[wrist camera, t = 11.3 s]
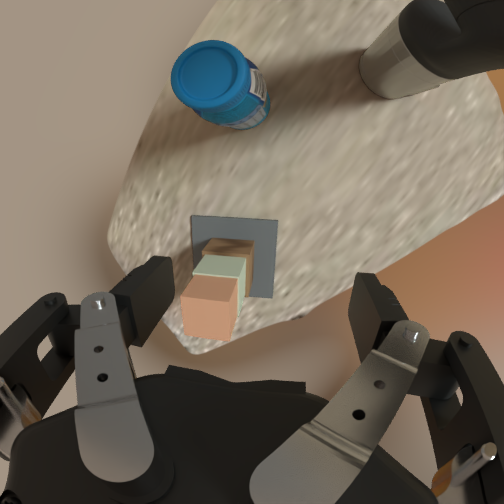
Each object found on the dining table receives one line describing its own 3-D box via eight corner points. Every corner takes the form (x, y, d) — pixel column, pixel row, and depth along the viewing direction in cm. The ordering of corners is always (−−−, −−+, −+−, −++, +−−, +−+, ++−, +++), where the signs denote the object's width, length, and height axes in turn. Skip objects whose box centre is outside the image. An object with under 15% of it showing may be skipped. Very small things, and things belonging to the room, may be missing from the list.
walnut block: (254, 240, 45) (249, 254, 39) (253, 279, 47) (248, 297, 42) (212, 237, 45) (201, 250, 40) (213, 275, 48) (203, 292, 43)
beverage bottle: (248, 141, 39) (215, 138, 21) (205, 111, 38) (142, 90, 20) (282, 99, 36) (279, 60, 18) (238, 69, 35) (199, 17, 17)
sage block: (246, 257, 39) (239, 276, 34) (245, 294, 42) (238, 316, 36) (205, 254, 40) (192, 272, 35) (206, 290, 42) (195, 311, 37)
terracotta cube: (237, 278, 34) (229, 302, 29) (237, 315, 36) (229, 341, 31) (195, 274, 35) (180, 296, 30) (197, 310, 37) (184, 334, 32)
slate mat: (277, 220, 43) (277, 221, 43) (272, 297, 49) (272, 298, 48) (192, 215, 45) (191, 215, 44) (195, 289, 50) (195, 290, 50)
